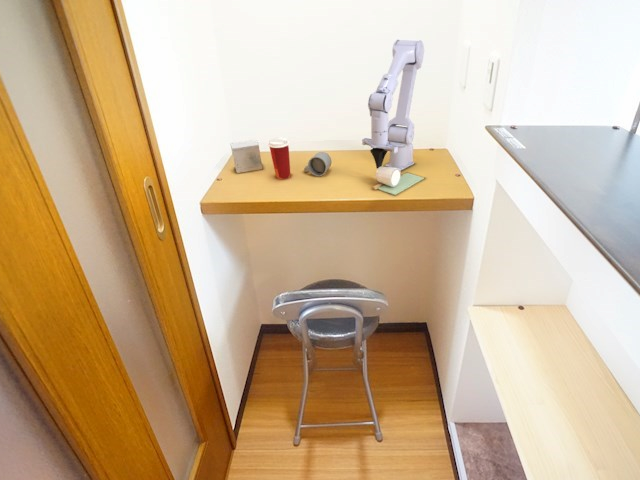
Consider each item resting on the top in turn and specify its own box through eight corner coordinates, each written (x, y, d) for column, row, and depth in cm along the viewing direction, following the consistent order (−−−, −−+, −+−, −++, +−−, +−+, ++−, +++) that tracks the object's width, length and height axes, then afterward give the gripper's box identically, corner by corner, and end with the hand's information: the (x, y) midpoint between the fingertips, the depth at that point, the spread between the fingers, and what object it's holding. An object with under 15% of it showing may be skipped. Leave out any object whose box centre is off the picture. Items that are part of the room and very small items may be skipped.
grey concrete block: (237, 173, 158) (231, 148, 152) (235, 168, 163) (229, 142, 157) (263, 169, 161) (258, 144, 155) (260, 163, 166) (256, 139, 160)
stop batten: (393, 178, 150) (393, 175, 149) (395, 179, 149) (395, 176, 149) (372, 189, 143) (372, 186, 143) (375, 190, 142) (375, 187, 142)
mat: (406, 173, 153) (406, 172, 153) (424, 178, 149) (424, 177, 149) (377, 189, 143) (377, 188, 143) (394, 195, 139) (394, 194, 138)
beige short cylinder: (378, 187, 147) (394, 191, 143) (372, 175, 142) (388, 179, 138) (387, 173, 149) (403, 176, 145) (381, 160, 143) (397, 163, 139)
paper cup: (296, 173, 156) (292, 138, 148) (286, 181, 151) (281, 145, 143) (280, 171, 159) (275, 136, 151) (269, 178, 154) (263, 142, 145)
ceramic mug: (333, 168, 159) (331, 150, 155) (327, 177, 153) (325, 157, 148) (308, 167, 162) (306, 148, 157) (301, 175, 155) (298, 156, 151)
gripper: (356, 129, 138) (357, 166, 146) (389, 137, 130) (388, 176, 138) (369, 124, 142) (369, 160, 150) (402, 131, 134) (400, 170, 142)
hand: (379, 167), depth 144 cm, fingers closed, pressing on beige short cylinder
